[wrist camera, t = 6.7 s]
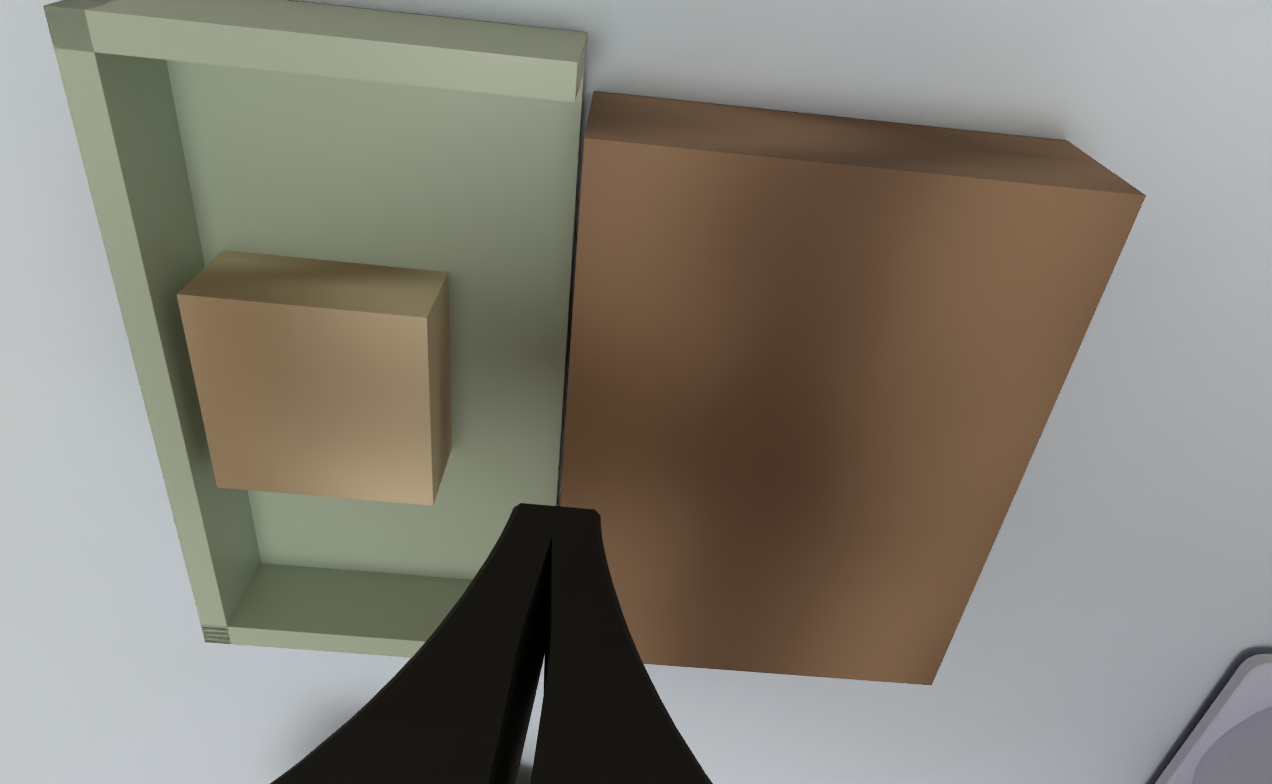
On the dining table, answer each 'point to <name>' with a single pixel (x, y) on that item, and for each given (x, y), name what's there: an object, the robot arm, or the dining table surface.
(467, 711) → the robot arm
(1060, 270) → the walnut board
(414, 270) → the maple tile
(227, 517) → the sage tray
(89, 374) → the dining table surface
